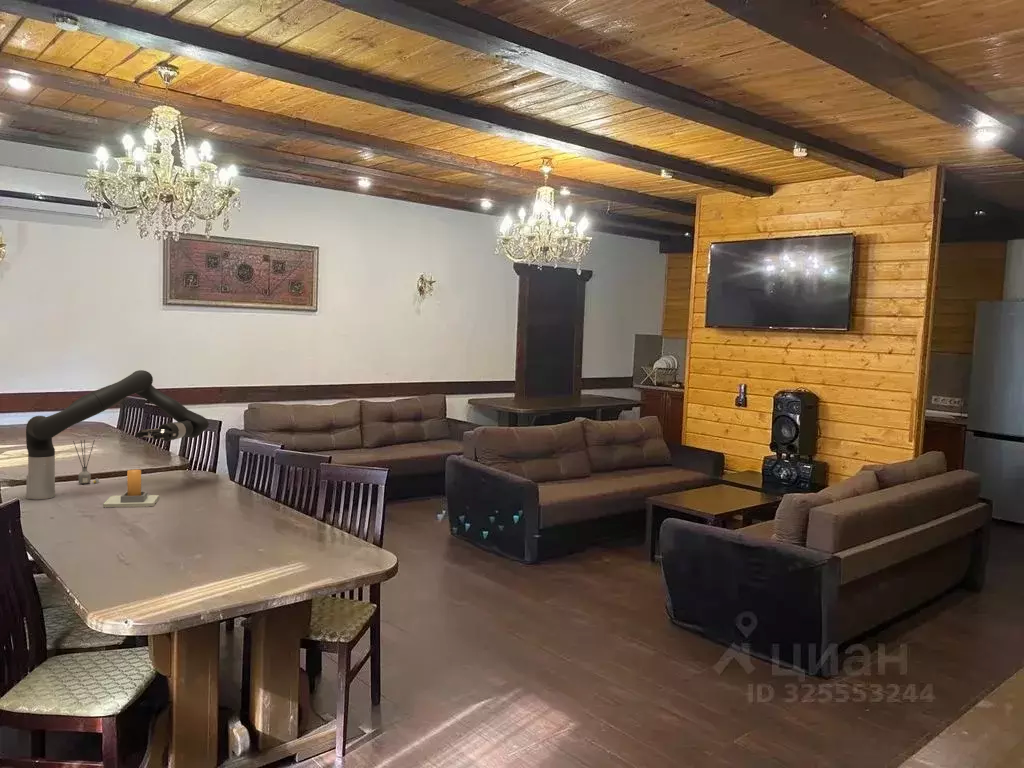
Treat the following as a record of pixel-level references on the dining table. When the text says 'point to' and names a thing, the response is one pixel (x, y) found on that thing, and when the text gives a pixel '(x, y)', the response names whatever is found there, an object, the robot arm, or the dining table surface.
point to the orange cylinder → (134, 482)
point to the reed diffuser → (85, 469)
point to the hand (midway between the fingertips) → (145, 436)
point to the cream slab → (132, 500)
